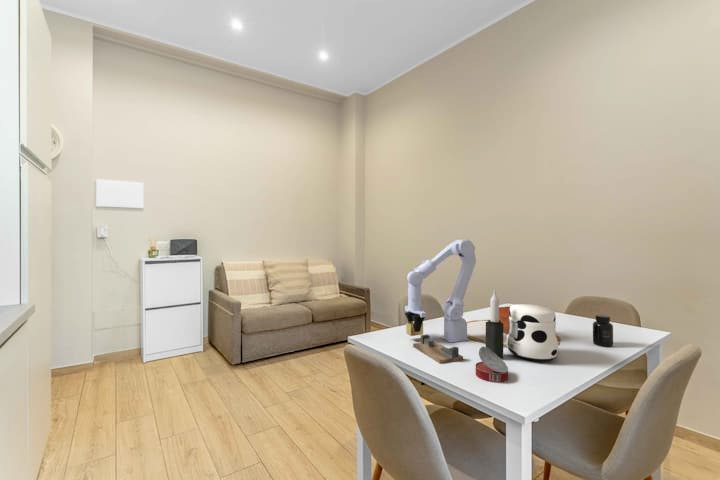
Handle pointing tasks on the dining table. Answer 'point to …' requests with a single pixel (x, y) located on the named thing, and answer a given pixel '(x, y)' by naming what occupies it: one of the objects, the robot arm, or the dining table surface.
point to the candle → (494, 328)
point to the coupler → (413, 329)
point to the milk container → (532, 332)
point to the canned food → (491, 367)
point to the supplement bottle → (603, 331)
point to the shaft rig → (437, 350)
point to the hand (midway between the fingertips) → (414, 330)
